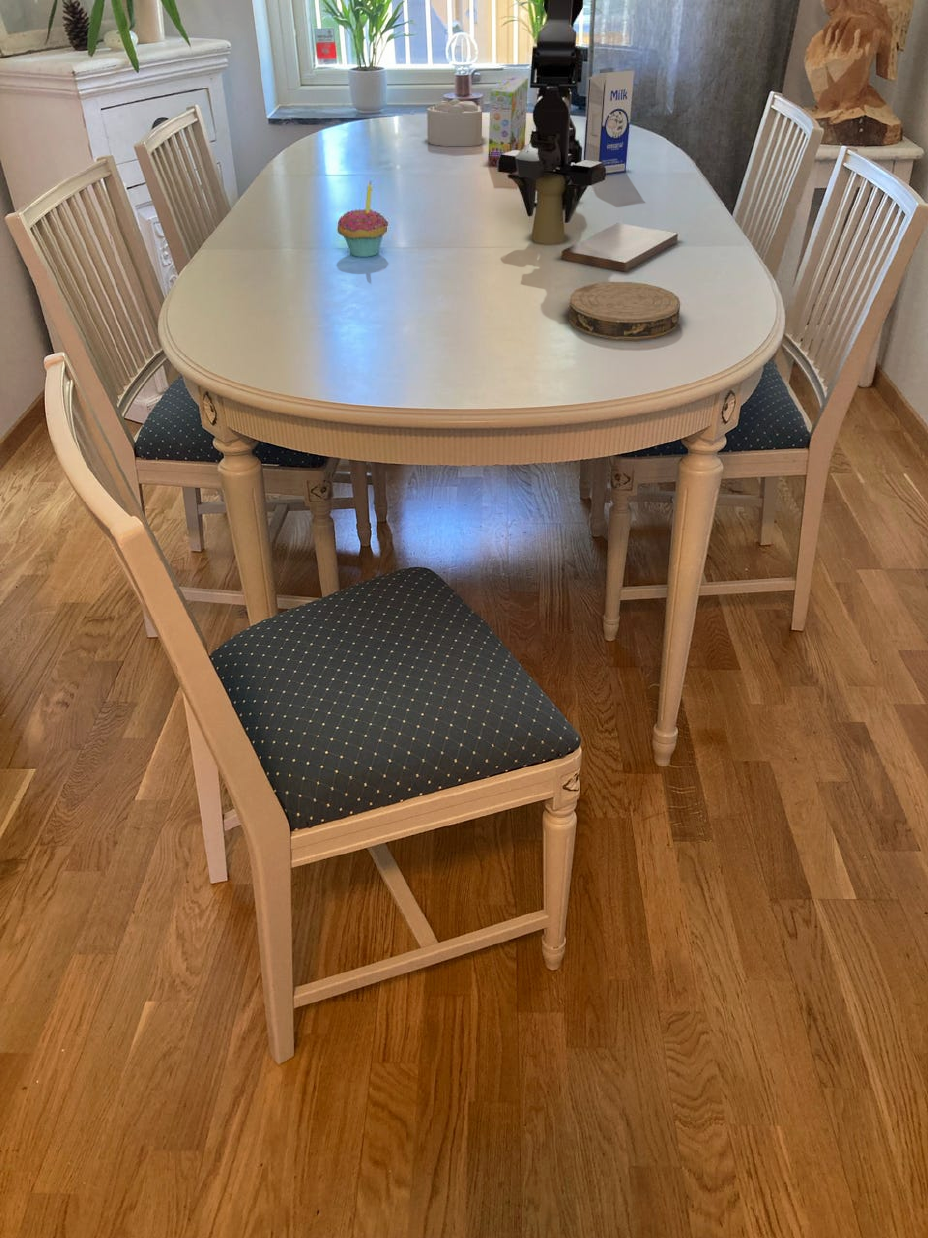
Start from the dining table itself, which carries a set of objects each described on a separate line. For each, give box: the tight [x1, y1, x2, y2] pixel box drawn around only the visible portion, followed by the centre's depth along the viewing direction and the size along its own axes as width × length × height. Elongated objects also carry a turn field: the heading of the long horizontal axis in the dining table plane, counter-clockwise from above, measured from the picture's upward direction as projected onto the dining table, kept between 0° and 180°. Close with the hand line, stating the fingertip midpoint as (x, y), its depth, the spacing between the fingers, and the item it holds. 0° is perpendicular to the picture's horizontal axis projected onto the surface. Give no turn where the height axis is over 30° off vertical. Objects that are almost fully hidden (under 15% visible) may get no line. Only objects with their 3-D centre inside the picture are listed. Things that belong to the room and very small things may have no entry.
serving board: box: [561, 222, 679, 273], centre depth 179 cm, size 12×20×2 cm, turn 146°
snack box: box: [487, 76, 529, 167], centre depth 234 cm, size 21×6×15 cm, turn 168°
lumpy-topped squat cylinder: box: [426, 98, 483, 147], centre depth 248 cm, size 10×13×9 cm
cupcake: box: [336, 180, 389, 258], centre depth 175 cm, size 9×8×12 cm
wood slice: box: [568, 281, 681, 341], centre depth 151 cm, size 16×16×3 cm
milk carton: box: [582, 67, 635, 176], centre depth 221 cm, size 7×7×20 cm
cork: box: [530, 173, 566, 245], centre depth 182 cm, size 6×6×11 cm
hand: (548, 219), depth 183 cm, fingers closed on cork, 7 cm apart
